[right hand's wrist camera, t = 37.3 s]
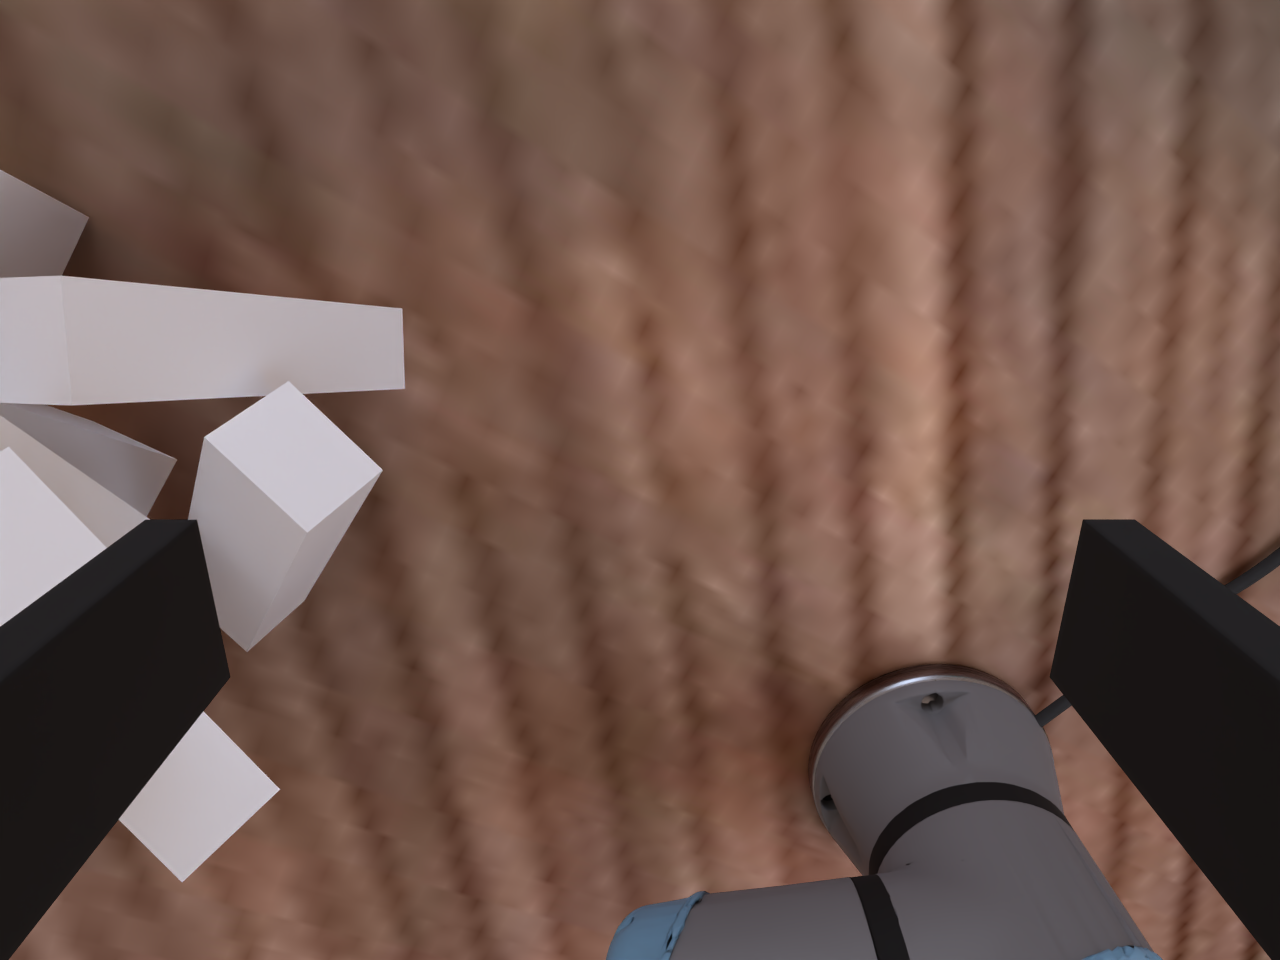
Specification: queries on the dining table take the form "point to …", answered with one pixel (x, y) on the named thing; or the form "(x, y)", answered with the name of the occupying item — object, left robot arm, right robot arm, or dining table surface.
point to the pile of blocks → (135, 473)
